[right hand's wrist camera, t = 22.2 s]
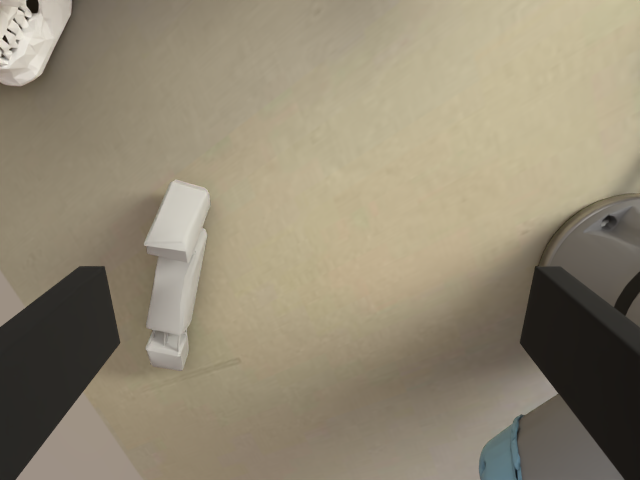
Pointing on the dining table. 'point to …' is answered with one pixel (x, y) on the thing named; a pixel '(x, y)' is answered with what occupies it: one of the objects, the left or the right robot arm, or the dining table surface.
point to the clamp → (175, 271)
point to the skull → (29, 38)
